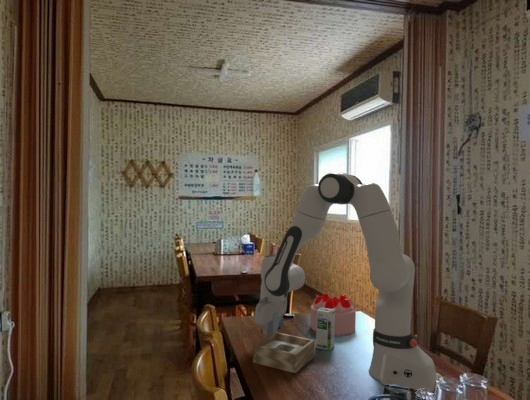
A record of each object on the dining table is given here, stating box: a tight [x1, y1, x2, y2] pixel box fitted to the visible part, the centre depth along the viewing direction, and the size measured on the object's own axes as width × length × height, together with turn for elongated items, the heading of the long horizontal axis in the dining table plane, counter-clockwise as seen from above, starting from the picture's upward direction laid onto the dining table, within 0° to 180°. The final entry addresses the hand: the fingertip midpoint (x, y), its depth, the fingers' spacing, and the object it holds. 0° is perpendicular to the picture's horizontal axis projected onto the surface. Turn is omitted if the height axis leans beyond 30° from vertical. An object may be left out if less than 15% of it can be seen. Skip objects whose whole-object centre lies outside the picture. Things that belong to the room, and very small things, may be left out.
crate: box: [252, 331, 316, 374], centre depth 137 cm, size 16×16×6 cm
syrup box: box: [315, 308, 335, 352], centre depth 150 cm, size 6×6×14 cm
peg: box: [263, 312, 279, 339], centre depth 154 cm, size 4×4×12 cm
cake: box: [309, 292, 357, 337], centre depth 172 cm, size 20×20×14 cm
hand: (270, 330), depth 154 cm, fingers open, 7 cm apart
